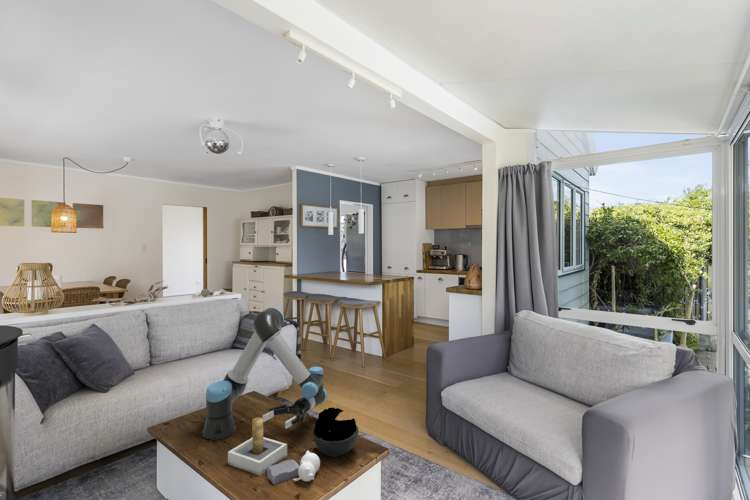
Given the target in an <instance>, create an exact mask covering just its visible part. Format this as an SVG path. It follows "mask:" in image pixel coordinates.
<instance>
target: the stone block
mask: <svg viewBox="0 0 750 500" xmlns="http://www.w3.org/2000/svg"><path fill="white" fill-rule="evenodd" d="M299 467H300V464H298V462H297V461H296V460H294V459H287V460H283V461H281V462H278V464H277V463H276V464H275V465H274V466H269V467H268V468H267V471H266V477H267V479H268V480H270V482H271V483H272V484H273V485H277V484H280V483H282V482H285V481H288V480H291V479H294V478H297V477H299V475H298V469H299Z"/></svg>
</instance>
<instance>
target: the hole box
mask: <svg viewBox="0 0 750 500" xmlns="http://www.w3.org/2000/svg"><path fill="white" fill-rule="evenodd" d="M287 456H288V443H284V442H281V441H279V440H275V439H271V438H267V437H265V436H263V453H261V454H260V455H258V456H257V455H254V454H253V439H252V437H250V439H247V440H245V441H244V442H242V443H240V444H238V445H237V446H236V447H233V448H232V449H230V450H228V451H227V465H230V466H232V467H235V468H237V469H241V470H244V471H246V472H249V473H252V474H255V475H257V476H261V475H263V474H264V473H265V472H267V468H268V467H269V466H274V465H277V463H278V464H279V463H280V461H281V462H282V460H283V459H285V458H286V457H287Z"/></svg>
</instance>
